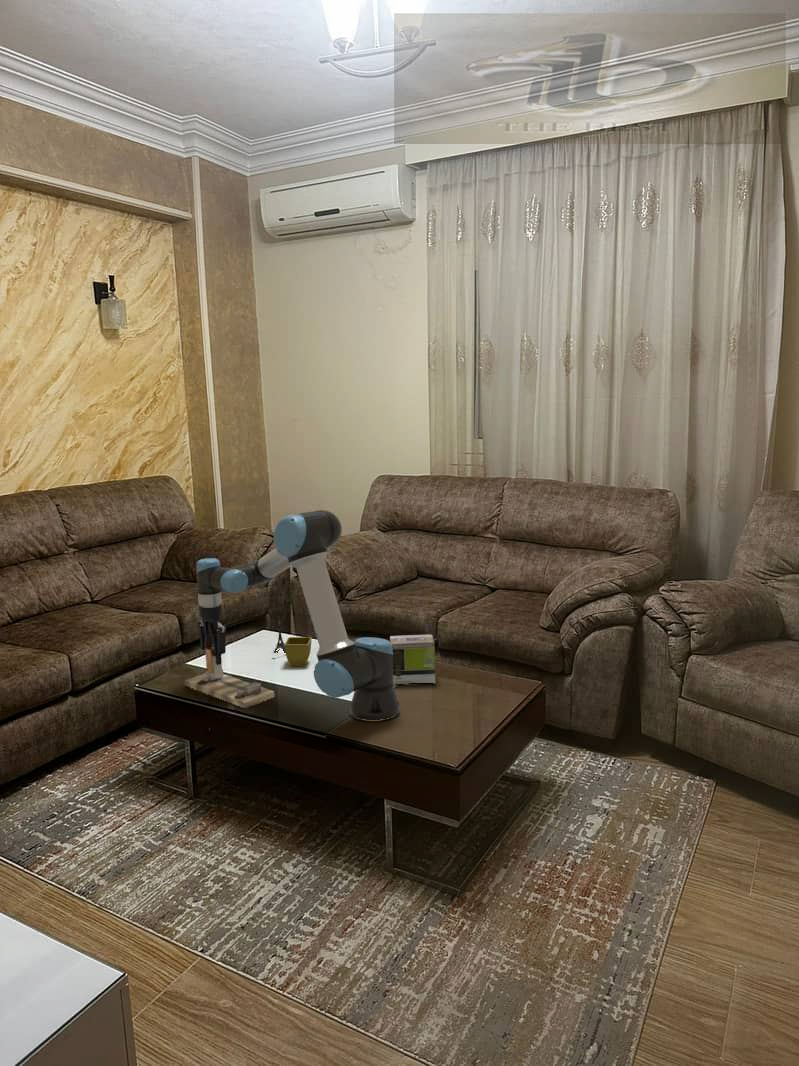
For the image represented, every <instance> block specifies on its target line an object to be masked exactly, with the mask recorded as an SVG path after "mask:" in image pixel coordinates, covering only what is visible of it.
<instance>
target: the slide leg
mask: <svg viewBox="0 0 799 1066" xmlns="http://www.w3.org/2000/svg"><path fill="white" fill-rule="evenodd" d="M205 650H206V653H205V662H206V663H205V664H206V671H205V674H206V676H204V675H203V674H200V675H201V676H200V675H199V676H200V682H201V683H203V682H205V681H204V680H207V679H208V680H211V681H212V680H215V679H218V678H221V677H224V676H223V674H224V669H223V667H222V666H223V665H222V664H221V668H222V673H218V674H214V669H213V654H214V649H213V646H212V647H209V648H206V649H205Z"/></svg>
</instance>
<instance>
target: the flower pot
mask: <svg viewBox="0 0 799 1066" xmlns="http://www.w3.org/2000/svg"><path fill="white" fill-rule="evenodd" d="M284 643H285V651H286V655H285V656H286V659H287V662H288V663H289V665H290V666H291V667H304V666H305V667H306V666H307V663H308V660H309V658H310V654H311V649H312V636H296V637H295V636H292V637H291V636H290V637H287V639H286V641H285V642H284Z"/></svg>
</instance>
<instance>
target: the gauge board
mask: <svg viewBox="0 0 799 1066" xmlns="http://www.w3.org/2000/svg"><path fill="white" fill-rule="evenodd" d="M201 675H204V676H206V673H203V674H199V675H197V676H194V677H191V678H188V679H185V680H184V685H185V687H187V686H188V688H189V687H190V689H192V688H193V689H192V690H195V691H197V690H198V692H200V691H201V692H200V693H202V692H203V694H205V693H206V695H208V694H209V695H208V696H210V695H211V697H213V698H216V699H218V698H219V700H221V699H222V700H221V701H223V700H224V702H226V701H227V703H229V702H230V703H229V704H231V703H232V704H231V705H234V706H237V707H239V706H240V707H239V708H242V709H244V708H245V709H247V708H251V707H253V706H256V705H258V704H261V703H264V702H266V701H269V700H271V698H272V699H274V698H275V691H274V690H271V689H268V688H265V687H262V683H259V682H256V681H253V682H251V683H250V682H248V681H245V680H242V679H239V678H237V677H233V676H230V675H228V674H225V673H223V676H224V677H221V678H218V679H215V680H212V681H211V680H208V679H207V680H204V681H205V682H203V683H201V682H200V676H201ZM273 697H274V698H273ZM268 699H269V700H268ZM263 701H264V702H263ZM250 706H251V707H250Z"/></svg>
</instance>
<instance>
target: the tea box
mask: <svg viewBox="0 0 799 1066" xmlns="http://www.w3.org/2000/svg"><path fill="white" fill-rule="evenodd" d="M389 641H390V642H391V644H392V648H393V686H396V685H395V684H404V685H409V684H408V683H434V684H436V681H437V680H436V652H435V651H436V650H435V649H436V648H435V640H434V637H433V634H429V633H428V634H407V635H405V634H404V635H390V636H389Z"/></svg>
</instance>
